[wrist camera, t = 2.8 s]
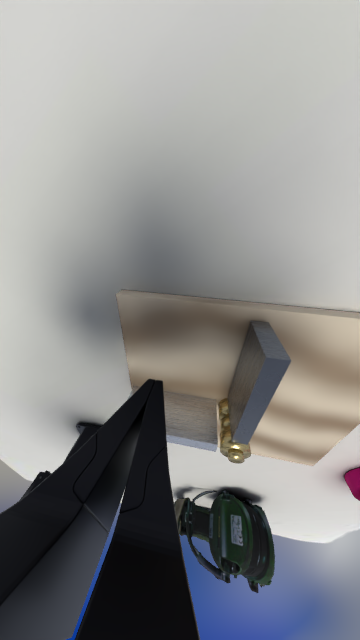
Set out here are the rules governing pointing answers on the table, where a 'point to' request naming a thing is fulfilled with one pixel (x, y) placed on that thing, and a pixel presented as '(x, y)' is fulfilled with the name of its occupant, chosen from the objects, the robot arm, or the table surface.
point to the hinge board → (223, 355)
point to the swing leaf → (254, 381)
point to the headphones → (230, 537)
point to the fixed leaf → (199, 424)
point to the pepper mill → (354, 482)
